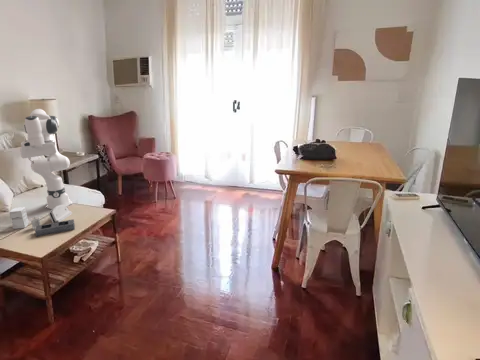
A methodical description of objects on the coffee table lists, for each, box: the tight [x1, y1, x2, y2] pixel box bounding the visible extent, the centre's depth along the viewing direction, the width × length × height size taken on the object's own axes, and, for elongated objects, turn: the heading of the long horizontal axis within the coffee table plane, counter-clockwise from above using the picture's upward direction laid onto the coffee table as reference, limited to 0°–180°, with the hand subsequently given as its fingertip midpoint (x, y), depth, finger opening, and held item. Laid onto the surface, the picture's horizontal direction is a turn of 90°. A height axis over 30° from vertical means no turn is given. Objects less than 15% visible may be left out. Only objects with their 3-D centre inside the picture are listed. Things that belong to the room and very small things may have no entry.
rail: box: [34, 219, 76, 238], centre depth 223 cm, size 8×22×4 cm, turn 115°
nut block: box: [30, 216, 42, 231], centre depth 227 cm, size 4×4×8 cm
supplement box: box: [9, 206, 30, 230], centre depth 230 cm, size 7×7×13 cm
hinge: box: [48, 205, 73, 223], centre depth 242 cm, size 17×5×10 cm, turn 174°
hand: (40, 162), depth 224 cm, fingers open, 8 cm apart
